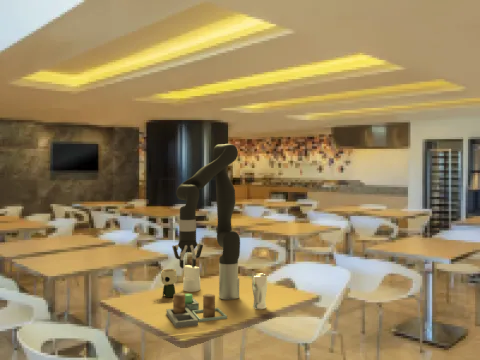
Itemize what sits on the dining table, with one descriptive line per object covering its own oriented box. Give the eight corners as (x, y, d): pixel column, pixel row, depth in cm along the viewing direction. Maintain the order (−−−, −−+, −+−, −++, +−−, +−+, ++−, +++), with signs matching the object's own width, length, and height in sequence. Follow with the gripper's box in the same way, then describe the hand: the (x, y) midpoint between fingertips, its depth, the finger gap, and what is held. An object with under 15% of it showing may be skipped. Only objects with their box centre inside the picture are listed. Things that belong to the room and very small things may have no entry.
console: (193, 307, 209) (193, 298, 209) (198, 312, 202) (198, 303, 202) (176, 308, 207) (176, 300, 206) (181, 314, 199) (181, 305, 199)
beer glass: (251, 305, 212) (251, 273, 212) (266, 305, 213) (266, 273, 213) (252, 309, 205) (253, 276, 205) (268, 309, 206) (268, 276, 206)
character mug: (156, 296, 227) (155, 270, 226) (166, 293, 233) (166, 267, 232) (171, 299, 220) (171, 273, 220) (182, 296, 226) (182, 270, 226)
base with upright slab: (203, 289, 240) (203, 266, 240) (191, 292, 234) (191, 269, 233) (192, 286, 246) (192, 264, 246) (179, 289, 239) (179, 266, 239)
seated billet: (183, 313, 197) (183, 292, 197) (186, 317, 192) (186, 295, 192) (172, 314, 195) (172, 293, 195) (174, 318, 190) (174, 296, 190)
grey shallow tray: (166, 316, 196) (166, 309, 196) (186, 313, 200) (186, 307, 199) (176, 330, 180) (176, 322, 179) (198, 327, 183) (198, 319, 183)
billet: (212, 314, 198) (212, 293, 197) (216, 317, 193) (216, 296, 193) (201, 315, 196) (201, 294, 195) (205, 319, 191) (205, 297, 191)
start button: (191, 304, 207) (191, 293, 207) (193, 306, 203) (193, 295, 203) (181, 305, 205) (181, 294, 205) (184, 308, 201) (184, 296, 201)
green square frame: (218, 312, 202) (218, 307, 202) (227, 320, 191) (227, 315, 191) (191, 315, 198) (191, 310, 198) (199, 324, 187) (199, 319, 186)
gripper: (200, 227, 209) (200, 264, 210) (170, 229, 204) (170, 267, 205) (205, 229, 202) (205, 268, 203) (173, 231, 197) (173, 270, 198)
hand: (187, 267), depth 204 cm, fingers open, 4 cm apart
